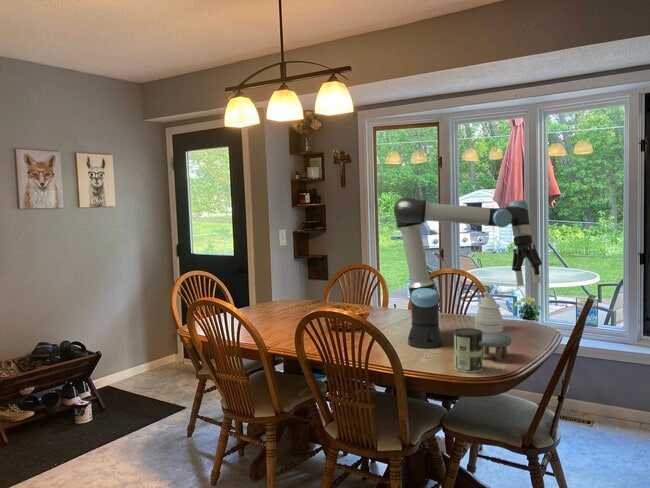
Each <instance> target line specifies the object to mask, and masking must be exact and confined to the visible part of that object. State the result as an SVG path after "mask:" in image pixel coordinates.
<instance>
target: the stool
mask: <svg viewBox="0 0 650 488" xmlns="http://www.w3.org/2000/svg"><path fill="white" fill-rule="evenodd" d="M511 344H512V337H511V336H510V335H507V334H504V333H499V332H496V333H487V332H482V360H483V359H484V355H490V348H495V362H498V363H499V362H502V358H507V356H508V353H507V352H508V350H507V348H508V347H509V346H511Z"/></svg>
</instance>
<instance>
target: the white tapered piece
mask: <svg viewBox="0 0 650 488" xmlns="http://www.w3.org/2000/svg"><path fill="white" fill-rule="evenodd" d="M483 296H484V297H483V298H482V299H481V302H480V303H479V304H477V307H478V309H477V311H476V314H475V315H476V316H475V317H474V329H478V330H481V331H482V333H501V332H502V331H504V319H503V317H502V313H501V311H500V307H501V305H500V304H498V303H497V301H496V300H495V298H494V296H492V295H491V294H490V292H488V291H484V292H483Z"/></svg>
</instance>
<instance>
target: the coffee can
mask: <svg viewBox="0 0 650 488" xmlns="http://www.w3.org/2000/svg"><path fill="white" fill-rule="evenodd" d="M482 333H483V332H482V331H481V330H478V329H475V328H469V327H468V328H467V327H466V328H465V327H462V328H456V329H453V349H454V351H453V352H454V354H453V358H454V360H453V361H454V363H453V365H454V367H453V369H454V370H455V371H457V372H461V373H467V374H475V373H481V372H482V371H483V359H482Z"/></svg>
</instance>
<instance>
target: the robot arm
mask: <svg viewBox="0 0 650 488" xmlns="http://www.w3.org/2000/svg"><path fill="white" fill-rule="evenodd" d="M393 214H394V217H395V222H396V228H397V230H399V231H400V232H401V236H402V243H403V247H404V251H405V252H404V253H405V258H406V263H407V268H408V273H409V279H410V283H409V284H408V286H407V287H408V292H409V297H410V305H411V308H410V309H411V328H410V330H409V333H408V336H407V337H408V338H407V345H409V346H411V347H414V348H419V349H435V348H439V347H442V346H443V345H444V338H443V335H442V332H441V329H440V321H439V319H440V315H439V314H440V313H439V311H440V309H439V307H440V306H439V304H440V303H439V302H440V301H439V300H440V296H439V292H438V291H437V290H436V289H435V283H434V281H433V280H431V278H430V275H429V274H430V273H429V269H428V264H427V259H426V253H425V248H424V242H423V237H422V230H421V227H422V226H423V224H425V223H427V222H438V223H439V222H440V223H452V224H465V225H478V226H485V227H498V228H506V227H508V226H509V225H510V224H511V229H512V236H513V237H512V238H513V245H514V246H516V247H517V248H514V249H513V258H512V259H513V260H512V265H511V269H512V271H514V272H515V278H516V285H517V287H519V286H521V287H522V286H525V283H524V276H523V270H522V266H523V263H524V260H525V259H527V260H528V261H529V263H530V265H531V273H532V280H533V283H534V284H540V283H541V282H542V280H541V274H540V273H541V272H540V266H541V265H542V264H543V262H542V259H541V258H540V256H539V253H538V250H537V248H536V244H533V237H532V235H531V234H532V228H531V224H530V214H529V207H528V204H527V201H525V200H520V199H519V200H514V201H511V202H509V204H508V206H505V207H496V208H495V207H483V206H481V207H480V206H470V205H469V206H468V205H457V204H446V203H445V204H444V203H433V202H429V201H428V200H423V199H419V198H414V197H412V196H403V197H400V198H398V200H396V202H395V204H394V205H393Z"/></svg>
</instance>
